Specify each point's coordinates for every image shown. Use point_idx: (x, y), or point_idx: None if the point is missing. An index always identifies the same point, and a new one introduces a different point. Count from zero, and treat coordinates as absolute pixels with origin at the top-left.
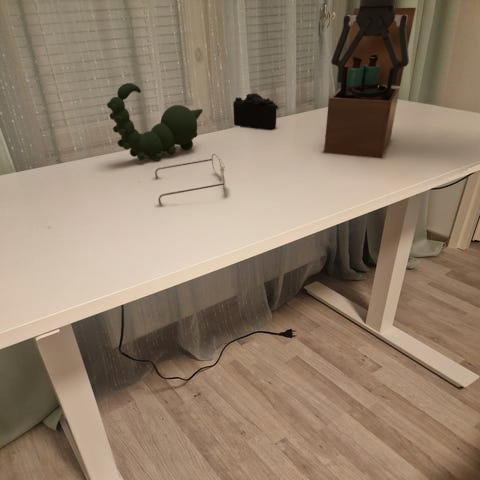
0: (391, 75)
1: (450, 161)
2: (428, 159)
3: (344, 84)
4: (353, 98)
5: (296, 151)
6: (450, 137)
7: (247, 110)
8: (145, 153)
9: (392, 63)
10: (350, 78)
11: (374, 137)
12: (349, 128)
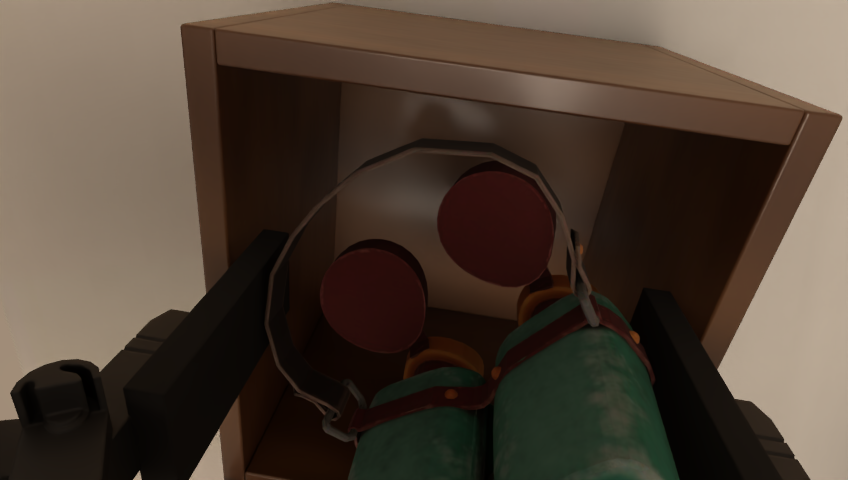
0: (166, 349)
1: (10, 19)
2: (109, 32)
3: (673, 373)
4: (545, 303)
5: (837, 43)
6: (98, 353)
7: None
8: None
9: (98, 458)
10: (637, 390)
11: (365, 16)
12: (542, 45)
